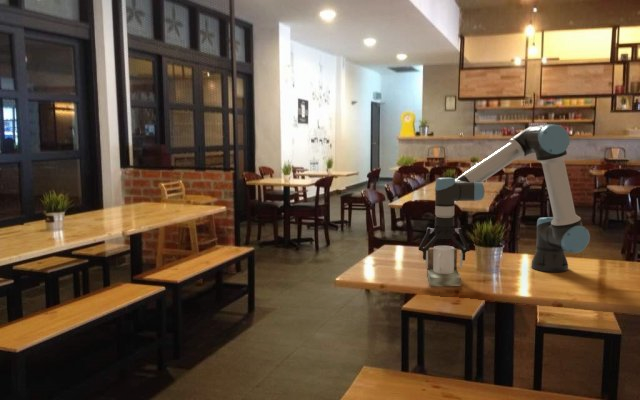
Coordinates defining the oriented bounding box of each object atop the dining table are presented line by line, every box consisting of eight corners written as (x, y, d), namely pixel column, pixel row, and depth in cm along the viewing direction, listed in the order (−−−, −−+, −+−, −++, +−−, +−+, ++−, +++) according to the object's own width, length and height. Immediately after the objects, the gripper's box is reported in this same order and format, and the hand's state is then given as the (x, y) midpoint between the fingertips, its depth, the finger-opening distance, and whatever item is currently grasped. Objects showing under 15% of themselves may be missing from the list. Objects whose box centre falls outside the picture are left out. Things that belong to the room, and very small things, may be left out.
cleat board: (455, 276, 239) (456, 248, 237) (460, 286, 223) (461, 256, 221) (426, 275, 240) (427, 248, 239) (429, 286, 224) (430, 256, 223)
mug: (448, 277, 223) (448, 252, 222) (428, 275, 227) (428, 250, 226) (456, 271, 234) (456, 246, 232) (436, 269, 237) (436, 244, 236)
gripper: (474, 215, 230) (473, 266, 232) (412, 214, 232) (412, 265, 235) (477, 217, 222) (476, 270, 225) (413, 217, 225) (413, 269, 227)
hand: (443, 268), depth 230 cm, fingers open, 13 cm apart
